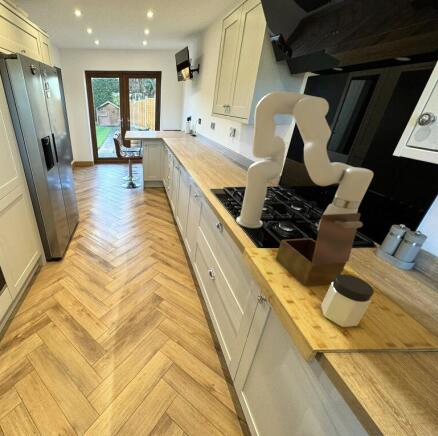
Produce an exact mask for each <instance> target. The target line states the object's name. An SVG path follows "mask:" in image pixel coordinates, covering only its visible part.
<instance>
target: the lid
mask: <svg viewBox="0 0 438 436" xmlns="http://www.w3.org/2000/svg"><path fill="white" fill-rule="evenodd" d="M360 218H361V213H360V212H357V213H347V214H327V215H323V214H321V218H320V220H321V222H320V221H319V222H320V227H319V226H318V227H319V231H317V237H316V240H315V241H316V246H315V250H314V255H313V260H312V264H324V263H336V262H346V263H348V262H349V261H350V257H351V252H352V248H353V246H354V241H355V237H356V234H357V230H358V229H359V228H362V227H363V225H364V224H363V222H362V221H360Z"/></svg>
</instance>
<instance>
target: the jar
mask: <svg viewBox="0 0 438 436" xmlns="http://www.w3.org/2000/svg"><path fill="white" fill-rule="evenodd" d="M374 293H375V289H374V288H373V286H372V285H371V284H369V283H368V282H367V281H365V280H364V279H362V278H360V277H357V276H354V275H351V274H345V273H343V274H342V273H341V275H338V276H337V277H336V278H335V280H334V282H332V283H330V285H329V287H328V289H327V292H326V294H325V295H324V298H323V300H322V303H321V305H320V307H321V310H322V313H323V316H324V318H327V319H328V320H330V321H331V322H333V323H335V324H336V325H338V326H340V327H341V328H346V327H357V326H359V324H360V322H361V320H362V318H363V316H364V315H365V314H366V311H367V309H368V308H369V306H370V304H371V303H372V300H371V298H372V297H373V295H374Z"/></svg>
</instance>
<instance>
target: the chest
mask: <svg viewBox="0 0 438 436" xmlns="http://www.w3.org/2000/svg"><path fill="white" fill-rule="evenodd" d="M316 241H317V240H314V239H313V238H312V237H307V238H305V237H304V238H291V239H289V238H288V239H281V241H280V244H279V246H278V250H277V253H276V256H275V260H276V261H278V263H280V264H281V266H283V267H284V268H285V269H286V270H287V271H288V272H289V273H290V274H291V275H292V276H293V277H294V278H295V279H296V280H297V281H298V282H299V283H300V284H301V285H302V286H304V287H305V286H317V285H328V284H331V283H332V282H334V280H335V278H336V277H337V276H338V275H341V274H342V273H343V271H344V268H345V267H346V265H347V262H336V263H324V264H312V260H313V255H314V250H315V246H316Z"/></svg>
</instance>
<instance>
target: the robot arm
mask: <svg viewBox="0 0 438 436" xmlns="http://www.w3.org/2000/svg"><path fill="white" fill-rule="evenodd" d="M329 109H330V105H329V101H328V100H326V98H323V97H321V96H320V97H319V96H315V95H314V96H313V95H309V94H305V93H299V92H296V91H295V92H293V91H282V90H278V91H273V92H269V93H268V94H266V95H264V96H263V97H262V98H260V100H259V102H258V103H257V105H256V106H255V110H254V117H253V118H254V119H253V120H254V126H253V127H254V128H253V135H252V137H253V139H252V149H251V151H252V155H253V156H254V158H255V159H263V160H261V161H257V162H256V161H255V162H254V163H252V164H251V165H250V166H249V167H248V169H247V170H246V171H247V172H246V186H245V190H244V195H243V196H244V197H243V201H242V206H241V209H240V215H239V216H237V217H236V220H235V221H236V223H237V224H238V225H239V226H241V227H244V228H247V229H259V228H262V227H263V221H262V220H261V217H262V214H263V210H264V205H265V202H266V197H267V192H268V184H267V182H268V181H272V180H275V179H277V178H278V177H280V176H281V175H282V172H283V168H284V161H285V154H286V153H285V152H286V143H285V140H284V139H283V138H282V137H281V136H279V135H276V129H277V127H276V124H277V123H276V119H275V116H276V115H288V116H292V117H293V119H294V121H295V123H296V126H297V128H298V130H299V134H300V136H301V139H302V141H303V144H304V146H303V161H304V165H305V168H306V171H307V173H308V175H309V177H310V179H311V181H312V183H314V184H315V185H317V186H320V187H327V186H330V185H333V184H338V188H337V190H336V192H335V195H334V197H333V200H332V201H331V203H330V204H328V205H327V207H326V209H325V211H324V212H323V214H322V215H327V214H347V213H358V211H359V207H360V205H361V203H362V202H363V201H362V200H363V198H364V196H365V194H366V192H367V190H368V188H369V186H370V184H371V182H372V179H373V177H374V172H373V170H370V169H368V168H364V167H354V166H352V165H349V164H346V163H344V162H338V161H337V162H335V161H333V162H331V160H330V158H329V155H328V151H327V150H328V149H327V145H328V142H329V140H330V138H331V135H332V130H331V128H330V125H329V124H328V121H327V119H326V116H327V114H328V112H329ZM320 222H321V219H320V220H319V221H318V227H317V228H316V231H317V232H319V227H320Z"/></svg>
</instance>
